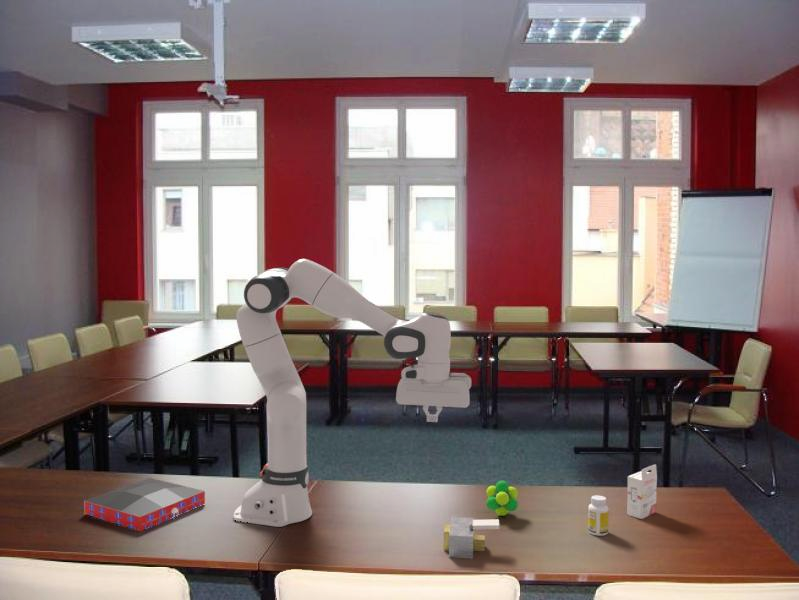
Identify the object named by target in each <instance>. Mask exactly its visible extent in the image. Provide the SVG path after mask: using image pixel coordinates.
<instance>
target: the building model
mask: <svg viewBox="0 0 799 600" xmlns="http://www.w3.org/2000/svg"><path fill="white" fill-rule="evenodd" d="M205 495H206V493H205V490H202V489H199V488H194V487H190V486H185V485H181V484H178V483H172V482H168V481H164V480H160V479H156V478H152V477H148V478H146V479H145V478H144V479H142V480H139V481H137V482H133V483H131V484H128V485H125V486H122V487H118V488H116V489H114V490H110V491H107V492H105V493H102V494H99V495H96V496H93V497H90V498H87V499H84V500H83V506H84V507H83V510H84V515H85V514H87V515H90V516H94V517H96V518H100V519H104V520H106V521H109V522H113V523H116V524H120V525H123V526H126V527H129V528H128V529H130V528H133V529H136V530H139V531H142V530H144V529H146V528H148V527H151V526H154V525H156V524H158V523H161V522H163V521H165V520H168V519H170V518H172V517H173V518H172V519H175V518H174V516H176V515H179V514H181V513H184V512H186V511H188V510H191V509H193V508H195V507H198V506H200V505H203V504H205V505H206V498H205ZM203 506H204V505H203ZM184 514H185V513H184ZM96 518H95V519H96ZM170 520H171V519H170ZM106 521H105V522H106ZM168 521H169V520H168ZM109 522H108V523H109ZM165 522H166V521H165ZM163 523H164V522H163ZM116 524H115V525H116ZM161 524H162V523H161ZM120 525H119V526H120ZM158 525H159V524H158ZM123 526H122V527H123ZM156 526H157V525H156ZM126 527H125V528H126ZM154 527H155V526H154ZM151 528H152V527H151ZM133 529H132V530H133ZM136 530H135V531H136ZM146 530H147V529H146ZM139 531H138V532H139ZM144 531H145V530H144ZM142 532H143V531H142Z"/></svg>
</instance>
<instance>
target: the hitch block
mask: <svg viewBox="0 0 799 600" xmlns="http://www.w3.org/2000/svg"><path fill="white" fill-rule="evenodd" d="M470 520H475V517H466V516H465V517H464V516H463V517H461V516H451V517H450V524H449V525H450V533H449V551H448V558H456V559H457V558H458V559H473V560H474V551H473V535H475V534H474V531H475V529H470V528H469V527H470Z"/></svg>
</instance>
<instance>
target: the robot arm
mask: <svg viewBox="0 0 799 600" xmlns="http://www.w3.org/2000/svg"><path fill="white" fill-rule="evenodd" d="M243 298H244V302H245V303H244V304H243V305H241V307H239V308H238V310H237V312H236V314H235V317H236V318H235V320H236V326H237V328H238V333H239V336H240V339H241V343H242V344H243V348H244V349H245V350H244V351H245V353H246V356H247V357H248V360H249V362H250V365H251V368H252V370H253V372H254V374H255V376H256V378H257V379H258V381H259V384H260V386H261V387H262V390H263V391H264V394H265V395H266V400H267V402H266V429H267V430H266V431H267V463H266V464H265V465H263V468H262V469H261V472H260V473H259V474H260V475H259V477H260V478H261V479H260V480H259V481H258V482H257V483H254V485H252V486H251V487H250V488H249V489H248V490H247V491H246V492H245V493H244V495H243V497H242V501H241V504H240V505H239V506H238V507H237V508H236V509H235V510H234V512H233V514H232V515H233V517H232V518H234V519H233V521H235V520H236V521H235V522H240V521H241V523H247V522H248V523H247V524H255V525H262V526H270V527H275V528H276V527H277V528H279V527H281V528H282V527H284V526H287V525H290V524H295V523H299V522H303V521H306V520H307V519H309V518H311V516H312V515H313V510H312V508H311V503H310V497H309V490H308V486H309V466H308V464H307V392H306V390H305V387H304V385H303V382H302V380H301V378H300V375H299V373H298V370H297V369H296V367H295V364H294V362H293V359H292V358H291V355H290V353H289V350H288V347H287V345H286V342H285V340H284V337H283V335H282V331H281V329H280V328H279V324H278V321H277V318H276V316H277V315H276V314H277V311H278V310H280V309H282V308H283V307H285V305H287V304H288V303H290V302H291V301H292V300H293V299H294V298H296V299H300V300H302V301H304V302H305V303H307V304H308V305H310V306H311V307H313V308H315V309H317V310H318V311H320V312H321V313H324V314H326V315H327V316H330V317H332V318H336V319H337V318H340V319H341V318H342V319H352V320H355V321H358V322H360V323H362V324H364V325H366V326H367V327H369V328H371V329H372V330H374V331H375V332H377V333H378V334H380V335H382V336H383V337H384V340H383V345H384V348H385V352H386V353H387V354H388V355H389V356H390V357H391V358H394V359H397V360H407V359H413V358H417V364H413V365H410V366H406V367H405V368H403V369H402V370H401V376H400V377H401V378H400V379H399V382H398V384H397V388H396V393H395V394H396V395H395V401H396V403H397V404H398V405H406V406H409V405H410V406H422V410H423V412H424V414H425V416H426V422H429V423H430V422H431V423H438V420H439V419H438V417H439V415H440V414H441V412H442V410H443V407H446V408H448V407H449V408H468V407H469V406H470V398H471V397H470V389H471V387H472V378H471V376H470V375H468V374H467V373H465V372H459V373H458V372H450V371H451V359H450V349H451V347H452V346H451V344H452V341H451V340H452V338H451V337H452V335H451V333H452V332H451V325H450V320H449V319H448V318H447V317H446V316H445V315H443V314H440V313H435V312H430V311H425V312H422V313H421V314H420V315H417V316H416V317H415V318H412V319H406V318H401V317H396V316H394V315H393V314H391V313H389V312H387V311H386V310H384V309H383V308H381V307H379V306H378V305H377V304H374V303H373V302H371V301H370V300H369V299H367V298H366V297H364V296H363V294H361V293H360V292H359V291H358V290H357V289H355V288H354V287H353V286H352V285H351V284H350V283H349V282H347V281H346V280H345V279H344V278H342V277H341V276H340V275H338V274H337V273H335V272H333V271H332V270H330V269H328V268H327V267H326V266H324V265H321V264H319V263H317V262H315V261H313V260H310V259H307V258H301V259H298V260H296V261H294V262H293V264H291V266H289V268H285V267H282V266H281V267H279V266H277V267H273V268H271V269H270V268H269V269H265V270H264V271H261V272H260V273H259V274H258V275H255V276H253V277H251V278H250V280H248V282H247V284H245V287H244V289H243ZM429 407H436V413H435V414H431V413H430V411H429Z"/></svg>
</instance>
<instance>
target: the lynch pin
mask: <svg viewBox="0 0 799 600" xmlns="http://www.w3.org/2000/svg"><path fill="white" fill-rule="evenodd" d="M449 533H450V524H447V523H446V524H444V528H443V551H447V552H449ZM485 546H486V535H484V534H474V535H473V552H475V551H476V552H477V551H478V552H485V551H486V547H485Z"/></svg>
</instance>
